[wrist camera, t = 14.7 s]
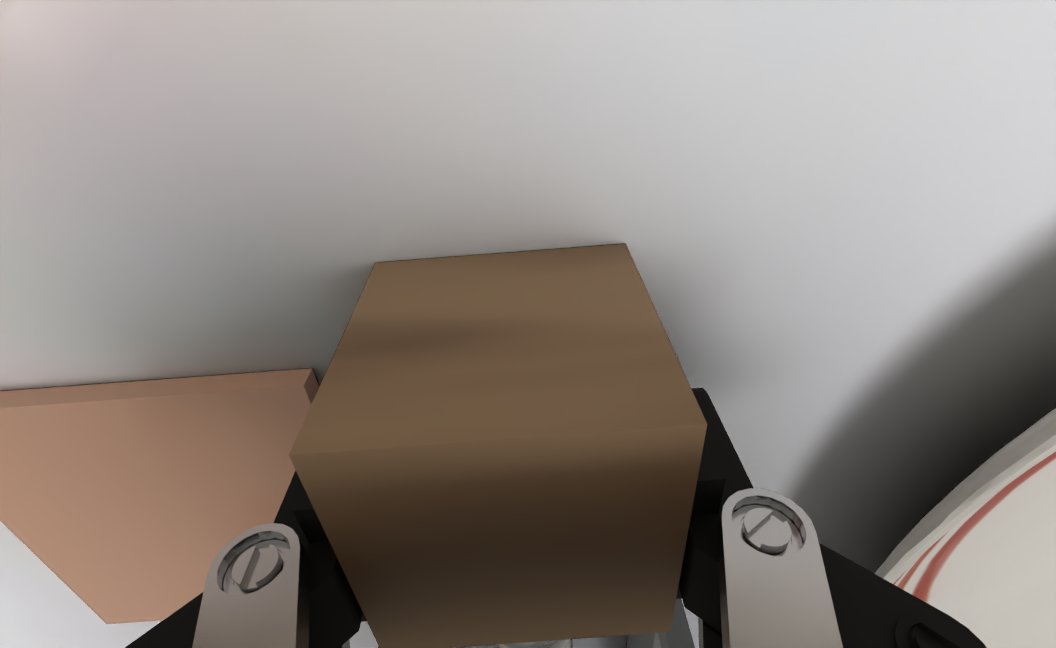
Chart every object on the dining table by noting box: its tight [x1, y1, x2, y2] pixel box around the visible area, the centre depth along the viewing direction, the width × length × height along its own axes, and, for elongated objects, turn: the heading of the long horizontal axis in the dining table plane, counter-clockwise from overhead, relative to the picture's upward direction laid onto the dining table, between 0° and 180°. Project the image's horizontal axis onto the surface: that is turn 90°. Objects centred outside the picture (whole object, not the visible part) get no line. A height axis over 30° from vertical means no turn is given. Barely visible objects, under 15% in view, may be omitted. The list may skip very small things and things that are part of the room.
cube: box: [289, 244, 707, 648], centre depth 10 cm, size 5×5×5 cm
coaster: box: [0, 368, 319, 624], centre depth 14 cm, size 9×9×1 cm
